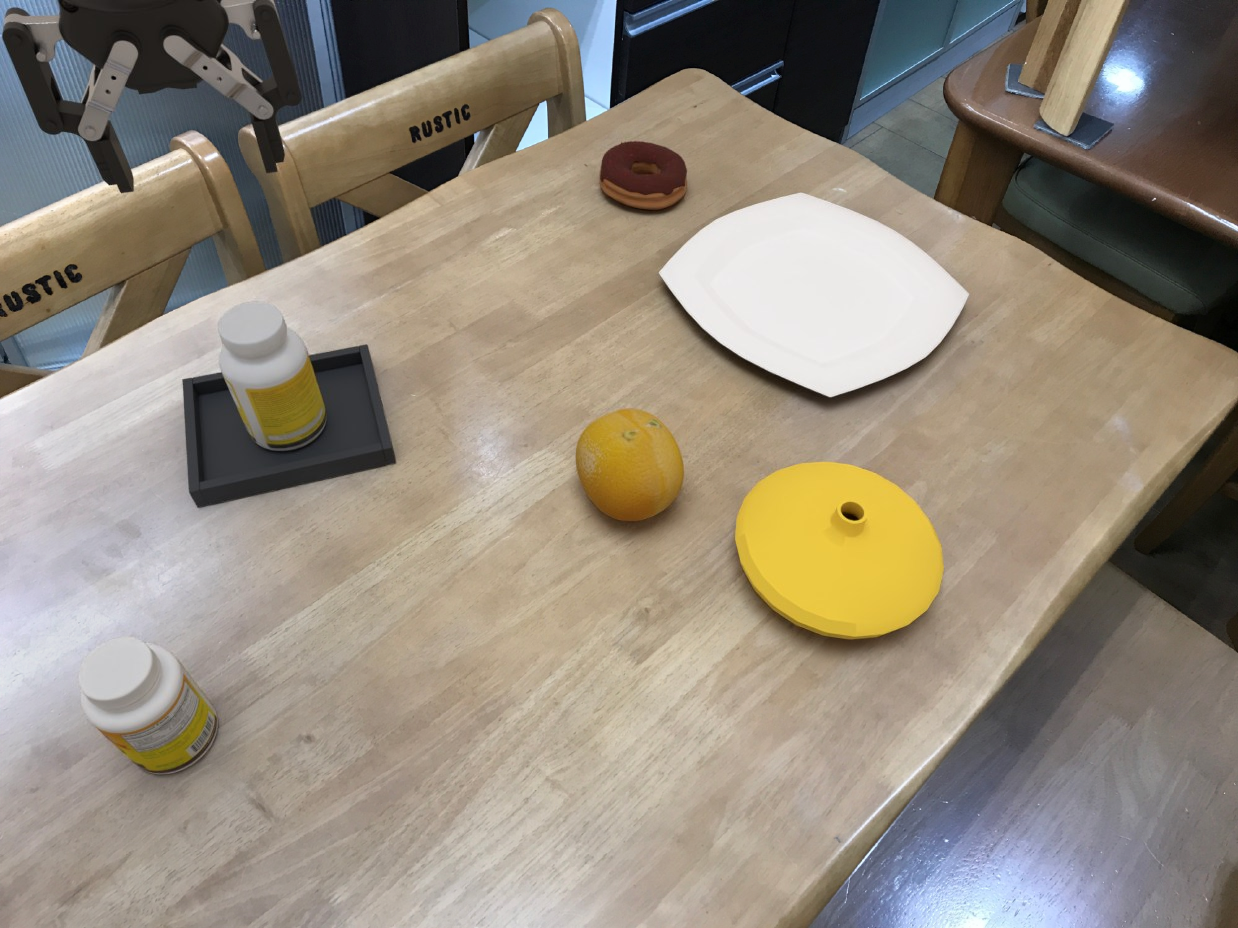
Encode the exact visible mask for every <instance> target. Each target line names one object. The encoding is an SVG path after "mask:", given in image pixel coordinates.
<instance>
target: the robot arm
mask: <svg viewBox="0 0 1238 928" xmlns="http://www.w3.org/2000/svg"><path fill="white" fill-rule="evenodd" d="M56 1H57V3H58V8H59V12H58V14H49V15H48V14H47V15H31V14H30V13H29V12H28V11H27V10H26V9H23V8H21V7H16V6H15V7H14V6H13V7H10V8H8V9H7V10H6V12H5V15H4V21H3V27H2V32H1V33H2V34H1V38H2V41H3V44H4V46H5V49H6V51H7V53H8V56H9V58H10V61H11V63H12V65H13V68H14V70H15V73H16V75H17V77H18V80H19V82H20V84H21V87H22V89H23V92H24V94H25V96H26V99H27V101H28V104H29V106H30V108H31V111H32V114H33V115H34V116H33V117H34V119H35V120H36V123H37V125H38V127H39V129H40V130H41V131H42V132H44V133H45V134H48V135H51V136H57V135H60V134H61V133H68V134H74V135H76V136H78V137H80V138H81V139H82V140H83V142H84V143H85V144H86V146H87V148H88V151H89V153H90V155H91V157H92V160H93V161H94V164H95V166H96V169H97V171H98V172H99V175H100V177H101V179H102V180H103V181H104V182H105V183H106V185H108V186H115V185H116V187H117V189H118V191H119V193H120V194H127V193H133V192H135V181H134V179H135V178H134V174H133V171H132V168H131V166H130V164H129V161H128V159H127V156H126V153H125V151H124V149H123V146H122V145H121V142H120V139H119V137H118V134H117V133H116V130H115V128H114V126H113V123H112V121H111V119H110V118H111V115H112V113H114V112H115V110H116V108H117V106H118V103H119V101H120V99H121V96H122V93H123V91H124V89H125V88H127V89H129V90H133V91H137V92H138V93H137V94H138V95H146V94H147V95H148V94H154V93H157V92H159V91H163V90H166V89H177V90H189V89H198V84H200V83H201V82H203V81H205V82H206V83H207V84H209V85H210V86H211V87H212V88H214V89H215V90H216V91H217V92H219V93H220V94H221V95H223V96H224V97H226V98H227V99H233V100H234V101H235V102H236V103H238V104H239V105H240V106H242V107H243V108H244V109H245V110H246V111H247V112H249V116H250V122H251V126H252V129H253V133H254V136H255V139H256V143H257V146H258V149H259V154H260V156H261V161H262V164H263V167H264V170H265V173H266V174H273V173H278V172H279V171H278V165H277V164H279V163H284V161H285V158H286V157H285V156H286V153H285V147H284V143H283V139H282V135H281V131H280V129H279V124H278V121H277V117H276V115H277V113H278V112H279V110H281V109H282V108H284V107H286V106H290V107H295V106H298V105H299V104H301V102H302V99H303V95H302V91H301V88H300V84H299V78H298V74H297V71H296V69H295V65H294V61H293V58H292V55H291V51H290V49H289V45H288V42H287V39H286V35H285V32H284V28H283V25H282V22H281V18H280V15H279V13H278V9H277V5H276V3H275V0H56ZM230 24H235V25H237V26H239V27H240V28H241V29H242V30H243V31H244V33H245V35H246V36H247V37H248V38H249V39H251V40H254V41H260V40H261V41H262V44H263V47H264V50H265V51H264V52H265V54H266V56H267V61H268V63H269V67H270V69H271V72H272V75H273V76H271V77H269V78H267V79H265V80H263V79H261V78H260V77H258V75H256V74H255V73H254V72H253V71H251V70H250V69H249V68H248V67H247V66H245V64H243V63H242V62H241V60H240V58H239V57H238V56H237V55H236V54H235V53H234V52H232V50H230V49H229V48H228V47H226V46H225V45H224V44H223V42H224V40H225V37H226V35H227V32H228V30H229V26H230ZM60 41H64V42H65V43H66V44H67V46H68V47H70V48H71V49H72V50H74V51H75V52H76V53H78V54H79V55H81V56H82V57H83V58H84V59H86V60H87V61H89V62H90V63H91V64H93V65H92V68H91V71H90V75H89V80H88V83H87V85H86V88H85V89H84V93H83V96H82V97H81V100H80V102H77V101H71V100H66V99H64V98H63V96H62V93H61V90H60V89H59V85H58V82H57V80H56V77H55V74H54V72H53V69H52V67H51V65H50V62H51V61H53V60H55V56H56V47H57V46H56V44H57V43H58V42H60Z"/></svg>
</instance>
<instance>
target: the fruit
mask: <svg viewBox="0 0 1238 928" xmlns="http://www.w3.org/2000/svg"><path fill="white" fill-rule="evenodd" d="M575 468H576V471H577V475H578V479H579V482H580V484H581V486H582V488H583V490H584V492H585V494H586V495H587V496H588V498H589V499H590V500H591V502H592V503H593V504H594V506H596V508H598V510H600V511H601V512H602V513H604V514H605V515H606V516H608V517H610V518H612V519H614V520H618V521H622V522H639V521H644V520H647V519H650V518H652V517H654V516H656V515H658V514H660V513H662V512H663V511H664V510H665V509H667V508H668V507H669V506H670V505H671V504H672V503H673V502H674V501H675V500H676V498H677V497H678V495H679V494H680V492H681V489H682V487H683V484H684V478H685V465H684V460H683V456H682V453H681V449H680V447H679V444H678V442H677V440H676V438H675V437H674V435H673V433H672V432H671V430H670V429H669V428H668V427H667V426H666V425H665V424H664V423H663V422H662V421H661V420H660V418H658V417H657V416H656V415H654V414H652V413H650V412H648V411H645V410H643V409H638V408H622V409H617V410H615V411H612V412H609V413H606V414H604V415H602V416H600V417H598V418H596V419H595V420H593V421H592V422H590V423H589V425H587V426H586V427H585V428H584V429H583V431H582V432H581V433H580V435H579V437H578V440H577V443H576V448H575Z"/></svg>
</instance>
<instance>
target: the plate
mask: <svg viewBox="0 0 1238 928" xmlns="http://www.w3.org/2000/svg"><path fill="white" fill-rule="evenodd" d="M658 275H659V276H660V278H661V279H662V281H663V282H664V283H665V285H666V286H667V288H668V290H669V291H670V292H671V293H672V294H673V295H672V296H674V297H675V299H676V300H677V301H678V302H679V304H680V305H681V306H682V308H683V309H684V310H685V312H687V314H688V315H689V316H690V317H691V318H692V319H693V320H694V321H695V322H696V324H697V325H698V326H699V327H700V328H701V329H702V330H703V331H704V332H705V333H706V334H707V335H709V336H710V337H711V338H713V339H714V340H715V341H716V342H717V343H718V344H720V346H722V347H724V348H726V349H727V350H728V351H730V352H732V353H733V354H735V355H736V356H738V357H739V358H741V359H742V360H744V361H746V362H748V363H751V364H752V365H754V366H755V367H758V368H760V369H761V370H764V371H766V372H768V373H769V374H772V375H774V376H776V377H778V378H781V379H783V380H785V381H788V382H790V383H792V384H795V385H797V386H799V387H802V388H804V389H807V390H809V391H811V392H813V393H816V394H818V395H821V396H823V397H825V398H827V399H831V398H834V397H838V396H841V395H845V394H847V393H850V392H853V391H857V390H859V389H861V388H864V387H867V386H871V385H873V384H875V383H877V382H881V381H883V380H885V379H888V378H890V377H893V376H894V375H896V374H898V373H900V372H903V371H905V370H907V369H908V368H910V367H912V366H914V365H915V364H917V363H919V362H920V361H922V360H923V359H925V358H926V357H928V356H929V355H930V354H931V353H932V351H934V350H935V349H936V348H937V347H938V346H939V345H940V344H941V343H942V341H943V340H944V338H945V337H946V336H947V335H948V334H949V332H950V331H951V329H952V328H953V326H954V324H955V323H956V321H957V319H958V318H959V316H960V314H961V312H962V310H963V308H964V306H965V304H966V302H967V300H968V298H969V296H970V293H969V292H968V291H967V290H966V289H965V288H964V287H963V286H962V285H961V284H960V283H959V282H958V281H957V280H956V279H955V278H954V277H953V276H952V275H951V274H949V272H947V271H946V270H945V269H944V267H942V266H941V265H940V264H939V263H938V262H937V261H935V259H933V257H931V255H929V254H928V253H926V252H925V251H924V250H923V249H922V248H920V247H919V246H918V245H916V243H914V242H913V241H911V240H910V239H908V238H906V236H904V235H902V234H901V233H899V232H897V231H896V230H895V229H892V228H890V227H889V226H887V225H885V224H883V223H881V222H879V221H877V220H876V219H873V218H871V217H869V216H866V215H864V214H861V213H859V212H857V211H855V210H852V209H849V208H846V207H844V206H841V205H839V204H836V203H833V202H830V201H828V200H826V199H823V198H819V197H817V196H814V195H810V194H807V193H804V192H796V193H793V194H789V195H785V196H780V197H776V198H773V199H769V200H766V201H765V200H764V201H762V202H758V203H755V204H752V205H749V206H745V207H743V208H740V209H737V210H734V211H732V212H730V213H727V214H725V215H723V216H720V217H718V218H716V219H714V220H713V221H711V222H710V223H708V224H707V225H706V226H704V227H703V228H701V229H700V230H698V232H697V233H696V234H694V235H693V236H692V237H690V238H689V239H688V240H687V241H686V242H685V243H683V245H682V246H681V247H680V248H679V249H678V250H677V251H676V252H675V254H673V255H672V256H671V257H670V258H669V260H668V261H667V262H666V264H664V266H663V267H662V268H661V269H659V272H658Z"/></svg>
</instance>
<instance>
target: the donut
mask: <svg viewBox="0 0 1238 928" xmlns="http://www.w3.org/2000/svg"><path fill="white" fill-rule="evenodd" d="M598 174H599V175H598V178H599V185H600V186H599V187H600V188H601V190H602V191H603V193H605V195H607V196H608V197H610V198H611V199H613V200H615V201H616V202H618V203H621V204H623V205H626V206H628V207H631V208H636V209H640V210H648V211H658V210H662V209H666V208H669V207H671V206H672V205H674V204H676V203H678V202H679V201H680V200H681V199H682V198H683V197H684V195H685V194H686V192H687V187H688V181H687V180H688V179H687V176H688V168H687V165H686V162H685V160H684V159H683V157H682V156H681V155H680V154H679V153H677V152H675V151H674V150H672V149H670V148H668V147H667V146H663V145H659V144H656V143H652V142H648V141H640V140H639V141H638V140H634V141H632V140H631V141H624V142H623V141H621V142H620V143H619V144H616V145H614V146H613V147H611V148H609V149H608V150H607V151H606V152H604V154H603V156H602V159H601V164H600V170H599V173H598Z"/></svg>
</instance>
